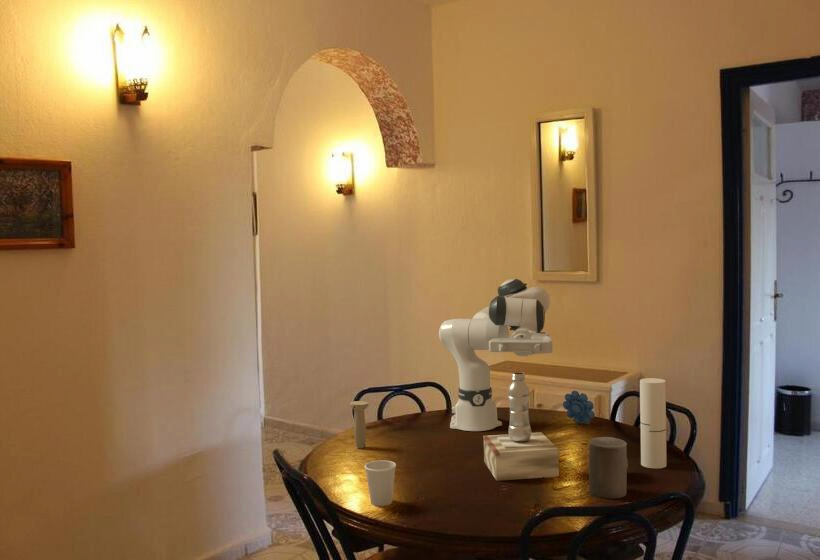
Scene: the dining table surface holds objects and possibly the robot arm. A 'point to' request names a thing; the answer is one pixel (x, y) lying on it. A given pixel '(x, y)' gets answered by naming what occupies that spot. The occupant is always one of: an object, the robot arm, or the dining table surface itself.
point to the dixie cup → (380, 481)
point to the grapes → (578, 407)
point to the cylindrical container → (653, 422)
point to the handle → (359, 422)
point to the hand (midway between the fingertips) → (518, 349)
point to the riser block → (521, 457)
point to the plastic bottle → (519, 408)
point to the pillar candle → (608, 467)
